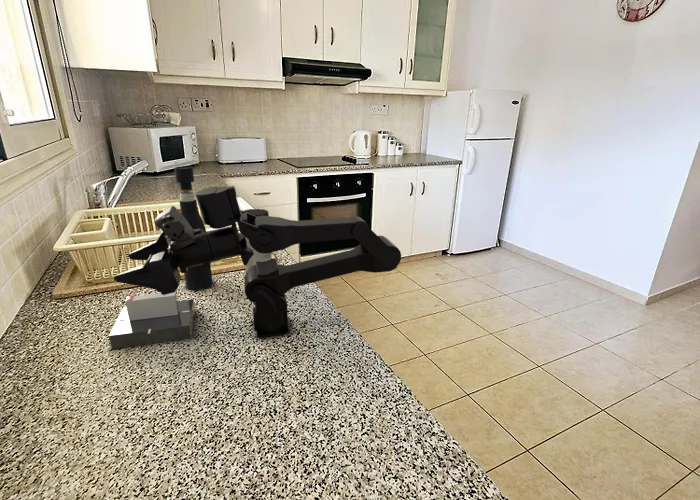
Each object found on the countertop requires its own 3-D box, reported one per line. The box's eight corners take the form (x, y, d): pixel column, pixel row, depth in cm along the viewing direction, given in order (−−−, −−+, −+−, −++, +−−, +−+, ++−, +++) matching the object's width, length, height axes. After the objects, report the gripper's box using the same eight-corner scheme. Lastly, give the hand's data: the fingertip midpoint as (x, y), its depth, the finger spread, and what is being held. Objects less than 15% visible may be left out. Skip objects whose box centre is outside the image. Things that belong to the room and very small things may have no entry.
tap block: (195, 308, 85) (194, 296, 84) (190, 341, 74) (188, 327, 72) (127, 316, 81) (124, 304, 80) (110, 352, 70) (106, 338, 69)
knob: (179, 310, 78) (175, 290, 77) (178, 314, 77) (174, 294, 75) (131, 316, 76) (126, 295, 74) (129, 321, 74) (124, 300, 73)
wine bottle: (217, 283, 97) (204, 167, 86) (196, 292, 92) (179, 170, 81) (202, 277, 100) (186, 164, 90) (180, 286, 95) (162, 167, 85)
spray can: (270, 293, 93) (265, 215, 86) (243, 292, 93) (236, 215, 86) (276, 281, 99) (271, 208, 92) (250, 280, 99) (244, 207, 92)
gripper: (202, 192, 74) (118, 209, 71) (192, 222, 57) (82, 246, 54) (219, 242, 79) (141, 260, 76) (214, 283, 62) (114, 309, 59)
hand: (122, 267), depth 66 cm, fingers open, 9 cm apart
